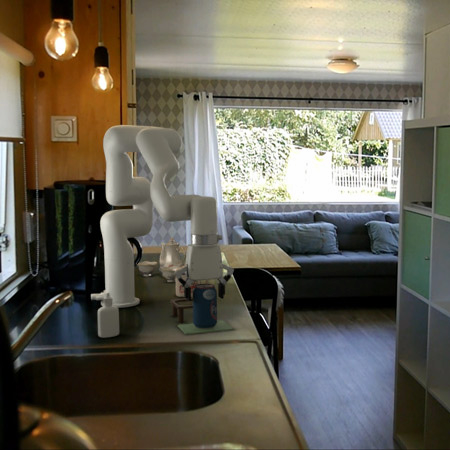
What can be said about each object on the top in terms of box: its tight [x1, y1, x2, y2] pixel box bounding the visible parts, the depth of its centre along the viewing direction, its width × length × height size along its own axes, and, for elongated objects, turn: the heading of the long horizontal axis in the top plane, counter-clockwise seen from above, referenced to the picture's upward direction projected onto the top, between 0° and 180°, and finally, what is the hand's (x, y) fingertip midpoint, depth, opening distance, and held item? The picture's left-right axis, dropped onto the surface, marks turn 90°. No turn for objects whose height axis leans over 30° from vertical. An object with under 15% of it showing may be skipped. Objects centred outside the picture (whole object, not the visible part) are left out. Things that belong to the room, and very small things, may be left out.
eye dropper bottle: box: [97, 293, 120, 339], centre depth 178 cm, size 4×6×12 cm
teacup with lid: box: [175, 262, 210, 298], centre depth 230 cm, size 12×9×12 cm
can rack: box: [169, 297, 193, 324], centre depth 198 cm, size 10×10×5 cm
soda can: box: [192, 283, 218, 329], centre depth 186 cm, size 7×7×12 cm
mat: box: [176, 319, 235, 336], centre depth 187 cm, size 14×10×1 cm
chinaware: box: [136, 236, 187, 283], centre depth 264 cm, size 28×17×17 cm, turn 49°
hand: (204, 299), depth 186 cm, fingers open, 9 cm apart
